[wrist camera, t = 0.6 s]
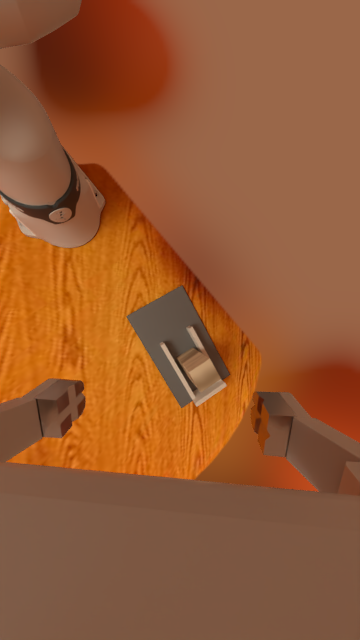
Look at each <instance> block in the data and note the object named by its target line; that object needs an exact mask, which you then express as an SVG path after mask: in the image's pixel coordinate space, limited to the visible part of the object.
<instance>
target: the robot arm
mask: <svg viewBox="0 0 360 640" xmlns="http://www.w3.org/2000/svg"><path fill="white" fill-rule="evenodd" d="M80 4H81V0H0V48H6V47H13V46H19V45H24V44H30V43H32V42H34V41H36V40H38V39H39V38H41V37H43V36H45V35H47V34H49V33H50V32H52V31H54V30H56V29H57V28H59V27H60V26H62V25H63V24H65V23H66V22H68V21H69V20H71V19H72V18H74V17H75V16H77V14H78V12H79V9H80ZM0 195H1V196H2V200H3V202H4V203H5V204H6V205H8V206H9V208H10V210H9V211H10V213H11V214H12V215H13V216H14V217H15V218H16V220H17V222H18V225H19V227H20V229H21V231H22V232H23V233H24V234H25V235H26V236H28V237H33V238H40V239H43V240H45V241H47V242H49V243H51V244H53V245H56V246H59V247H65V248H73V247H78V246H81V245H84V244H86V243H87V242H89V241H90V240H91V239H92V238H93V237H94V236H95V234H96V233H97V231H98V228H99V224H100V214H101V211H102V209H103V207H104V205H105V199H104V197H103V195H102V194H101V193H100V192H99V190H98V189H97V188H96V187H95V186H94V184H93V183H92V182H91V181H90V179H89V178H88V177H87V176H86V174H85V173H84V172H83V171H82V170H81V168H80V167H79V166H78V165H77V163H76V162H75V161H74V160H73V159H72V157H71V156H70V155H69V154H68V152H67V151H66V150H65V149H64V147H63V146H62V145H61V144H60V141H59V139H58V137H57V135H56V133H55V130H54V128H53V126H52V124H51V122H50V119H49V117H48V115H47V113H46V111H45V110H44V108H43V106H42V105H41V103H40V102H39V100H38V99H37V98H36V97H35V96H34V94H33V93H32V92H31V91H30V90H29V89H28V88H27V87H26V86H25V85H24V84H23V83H22V82H21V81H20V80H19V79H18V78H17V77H15V76H14V75H13V74H12V73H11V72H9V71H8V70H7V69H6V68H4V67H3V66H1V65H0ZM95 195H97V196H95ZM83 390H84V384H83V382H82V381H79V380H67V379H48V380H47V381H45V382H44V383H42V384H41V385H39V386H38V387H36V388H35V389H33V390H32V391H30V392H29V393H28V394H26V395H25V396H23V397H22V398H16V399H13V400H10V401H7V402H4V403H1V404H0V640H360V443H358V442H357V441H355V440H353V439H351V438H350V437H348V436H346V435H344V434H343V433H341V432H339V431H337V430H335V429H334V428H332V427H330V426H328V425H327V424H325V423H323V422H321V421H319V420H318V419H315V418H311V417H310V416H309V414H307V412H306V411H305V410H304V408H303V407H301V405H300V404H299V403H298V401H297V400H296V399H295V398H294V397H293V395H292V394H290V393H286V392H282V393H281V392H254V393H253V399H252V400H253V402H254V404H255V405H254V406H253V407H252V408H251V423H252V427H253V429H254V432H256V433H257V434H258V442H259V445H260V447H261V450H262V452H263V455H270V456H279V457H286V459H287V460H288V461H289V462H290V463H291V464H292V465H293V466H294V467H295V468H296V469H297V470H298V471H299V472H300V473H301V474H302V475H303V476H304V477H305V478H306V479H307V480H308V481H309V482H310V483H311V484H312V485H313V486H314V487H315V488H316V489H317V490H318V491H319V492H315V491H304V490H293V489H282V488H271V487H260V486H249V485H238V484H229V483H219V482H209V481H198V480H188V479H178V478H168V477H157V476H146V475H136V474H125V473H114V472H104V471H93V470H82V469H72V468H61V467H51V466H40V465H29V464H19V463H8V462H6V461H8V460H9V459H11V458H12V457H14V456H15V455H17V454H18V453H20V452H21V451H23V450H25V449H26V448H28V447H29V446H31V445H32V444H34V443H35V442H37V441H38V440H40V439H42V437H55V438H62V437H63V436H64V435H65V434H66V432H67V431H68V430H69V429H70V428H71V426H72V421H74V420H76V419H78V418H79V417H80V415H81V414H82V413H83V410H84V408H85V396H84V395H83V394H82V391H83Z"/></svg>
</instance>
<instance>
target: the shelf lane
mask: <svg viewBox="0 0 360 640" xmlns="http://www.w3.org/2000/svg"><path fill="white" fill-rule="evenodd" d="M126 317H127V318H128V320H129V322H130V323H131V325H132V327H133V328H134V330H135V332H136V333H137V335H138V337H139V338H140V340H141V342H142V343H143V345H144V347H145V348H146V350H147V351H148V353H149V355H150V356H151V358H152V360H153V361H154V363H155V365H156V366H157V368H158V370H159V371H160V373H161V375H162V376H163V378H164V380H165V381H166V383H167V385H168V386H169V388H170V390H171V391H172V393H173V395H174V396H175V398H176V400H177V401H178V403H179V405H180V406H181V408H182V407H184V406H185V405H187V404H188V403H190V402H191V401H193V402H194V403H195V405H196V406H199V405H200V404H201V403H203V402H204V401H206V400H207V399H209V398H210V397H211V396H213V395H214V394H216V393H217V392H219V391H220V390H222V389H223V388H224V387H226V386H227V385H226V383H225V382H224V381H222V380H223V379H225V378H226V377H227V376H229V375H230V374H229V372H228V370H227V368H226V366H225V364H224V363H223V361H222V359H221V357H220V355H219V353H218V351H217V350H216V348H215V346H214V344H213V342H212V340H211V338H210V336H209V335H208V333H207V331H206V329H205V327H204V325H203V323H202V322H201V320H200V318H199V316H198V314H197V312H196V310H195V308H194V307H193V305H192V303H191V301H190V299H189V297H188V295H187V294H186V292H185V290H184V288H183V286H180V287H178V288H177V289H175V290H173V291H171V292H169V293H168V294H166V295H164V296H162V297H160V298H159V299H157V300H155V301H153V302H151V303H150V304H148V305H146V306H144V307H142V308H141V309H139V310H137V311H135V312H133V313H131V314H130V315H128V316H126ZM191 348H194V349H196V350H197V351H199V352H200V353H202V354H204V355H205V356H207V357H208V358H210V360H211V361H212V363H213V365H214V367H215V369H216V371H217V372H218V374H219V376H220V378H221V379H220V380H219V381H217V382H216V383H214V384H213V385H211V386H210V387H208V388H207V389H205V390H204V391H203V392H200V391H199V390H198V388H197V387H196V386H195V385H194V383H193V382H192V381H191V380H190V378H189V377H188V376H187V374H186V373H185V371H184V370H183V368H182V366H181V364H180V363H179V361H178V359H177V357H178V356H180V355H181V354H183V353H185V352H186V351H188V350H189V349H191Z"/></svg>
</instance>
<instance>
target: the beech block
mask: <svg viewBox="0 0 360 640" xmlns="http://www.w3.org/2000/svg"><path fill="white" fill-rule="evenodd" d="M177 359H178V361H179V363H180V364H181V366H182V368H183V370H184V371H185V373H186V374H187V376H188V377H189V378H190V380H191V381H192V382H193V383H194V385H195V386H196V387H197V388H198V390H199V391H200V392H203V391H204V390H205V389H207V388H208V387H210V386H211V385H213V384H214V383H216V382H217V381H219V380H220V379H221V378H220V376H219V374H218V372H217V371H216V369H215V367H214V365H213V363H212V361H211V360H210V358H208V357H207V356H205V355H204V354H202V353H200V352H199V351H197V350H196V349H194V348H191V349H189V350H188V351H186V352H185V353H183V354H181V355H180V356H178V357H177Z"/></svg>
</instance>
